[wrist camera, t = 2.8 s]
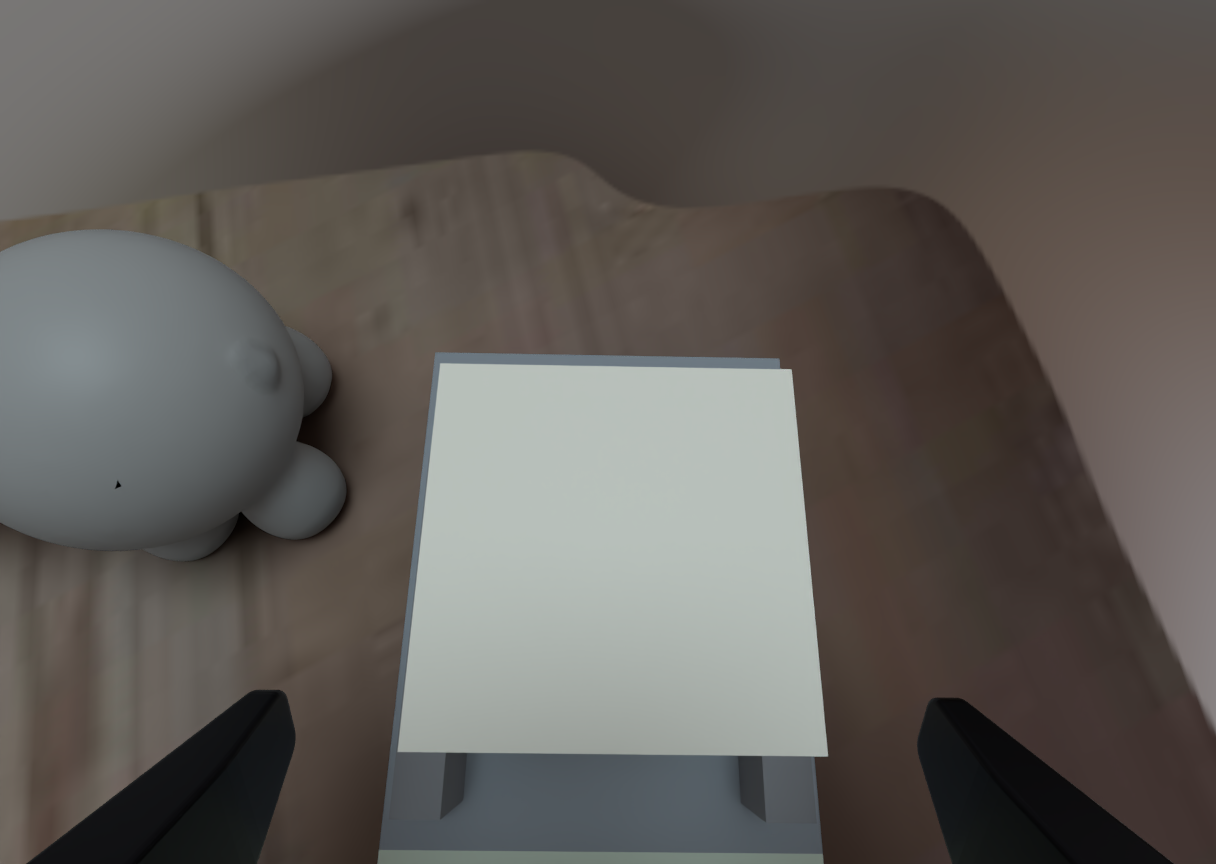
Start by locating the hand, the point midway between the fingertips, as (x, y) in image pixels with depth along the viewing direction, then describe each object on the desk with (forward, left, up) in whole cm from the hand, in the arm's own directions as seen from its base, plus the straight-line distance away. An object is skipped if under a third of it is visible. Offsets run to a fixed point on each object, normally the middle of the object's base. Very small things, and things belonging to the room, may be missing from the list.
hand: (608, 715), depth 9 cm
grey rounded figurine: (+2, +15, -10) cm, 18 cm away
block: (+2, +1, -7) cm, 8 cm away
